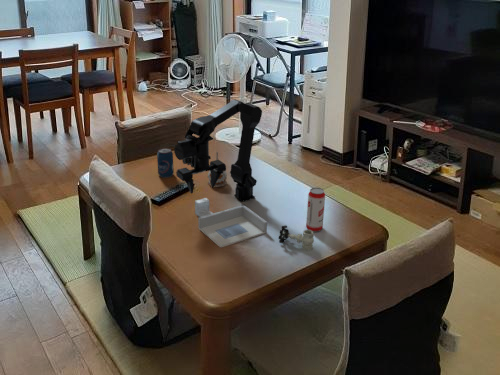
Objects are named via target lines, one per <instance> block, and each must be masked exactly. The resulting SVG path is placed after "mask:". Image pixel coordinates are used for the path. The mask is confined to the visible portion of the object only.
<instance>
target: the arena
mask: <svg viewBox="0 0 500 375" xmlns="http://www.w3.org/2000/svg"><path fill="white" fill-rule="evenodd" d="M212 213H213V212H212ZM197 218H198V219H197V220H198V230H199V231H200V232H202V233H203V234H204V235H205V236H206V237H208V239H210V240H211V241H212V242H213V243H215V245H216V246H218V247H219V248H223V247H227V246H231V245H233V244H236V243H239V242H242V241H245V240H249V239H252V238H254V237H258V236H261V235H265V234H266V233H267V232H268V221H267V220H265V219H264V218H263V217H261V216H259V214H257V213H256V212H255V211H253V210H252V209H250V208H249V207H247V206H246V205H245V204H242V205H237V206H235V207H231V208H228V209H225V210H221V211H217V212H214V213H213V214H210V215H206V216H203V217H197Z"/></svg>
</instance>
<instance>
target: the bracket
mask: <svg viewBox="0 0 500 375" xmlns="http://www.w3.org/2000/svg"><path fill="white" fill-rule="evenodd" d="M194 214H195V215H196V216H197V218H199V217H203V216H206V215H210V214H213V212H212V211H211V210H210V200H209V199H208V198H207V197H203V198H200V199H197V200H194Z"/></svg>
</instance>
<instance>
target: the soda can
mask: <svg viewBox="0 0 500 375" xmlns="http://www.w3.org/2000/svg"><path fill="white" fill-rule="evenodd" d="M156 158H157V162H156V163H157V174H158V175H159V177H160V178H165V179H166V178H172V176H173V175H174V173H175V172H174V153H173V151H172V149H171V148H169V147H161V148H159V149H158V150H157V154H156Z"/></svg>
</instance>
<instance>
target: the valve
mask: <svg viewBox="0 0 500 375" xmlns="http://www.w3.org/2000/svg"><path fill="white" fill-rule="evenodd" d="M302 233H303V234H302ZM302 233H298V235H296V234H294V233H291V234H290V231H289V229H288V225H286V224H285V225H282V226H281V230H279V235H278V242H279V243H280V244H282V243H283V242H284V243H285V241H287V240H288V239H289V238H290V240H291V239H292V240H295V241H296V242H297V243H302V250H303V251H306V252H307V251H308V252H309V251H312V250H313V244H314V241H315V238H314V233H315V232H313V231H312V230H308V229H305V230H303V231H302Z"/></svg>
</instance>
